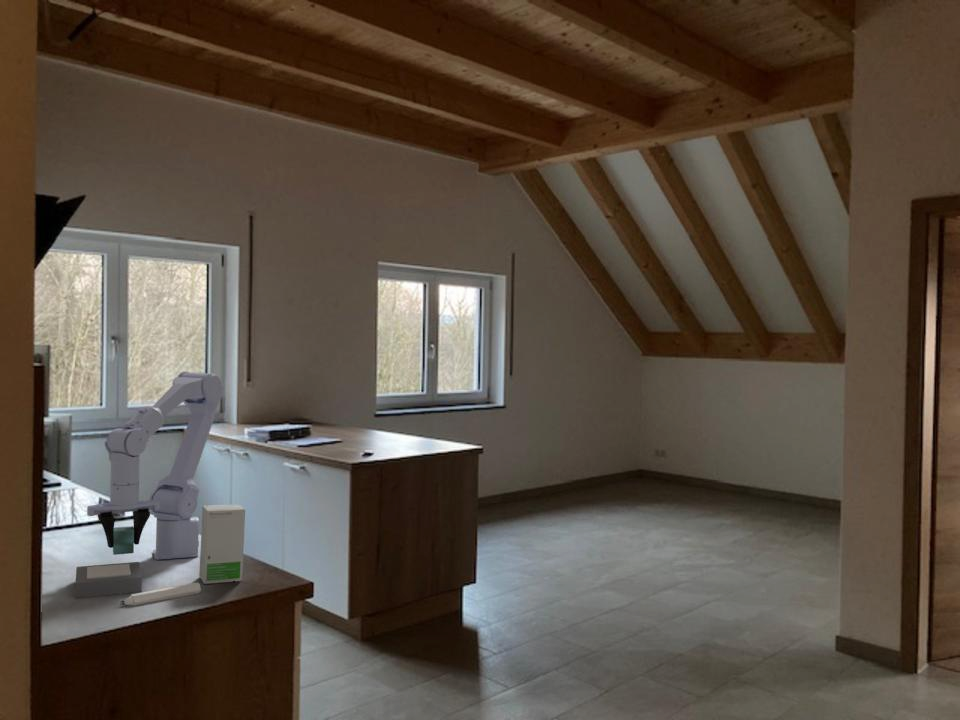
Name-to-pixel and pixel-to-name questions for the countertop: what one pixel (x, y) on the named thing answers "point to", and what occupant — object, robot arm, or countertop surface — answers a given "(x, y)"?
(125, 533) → the teal block
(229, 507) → the skincare box
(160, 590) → the marker
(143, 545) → the countertop surface
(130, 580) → the charcoal plinth
